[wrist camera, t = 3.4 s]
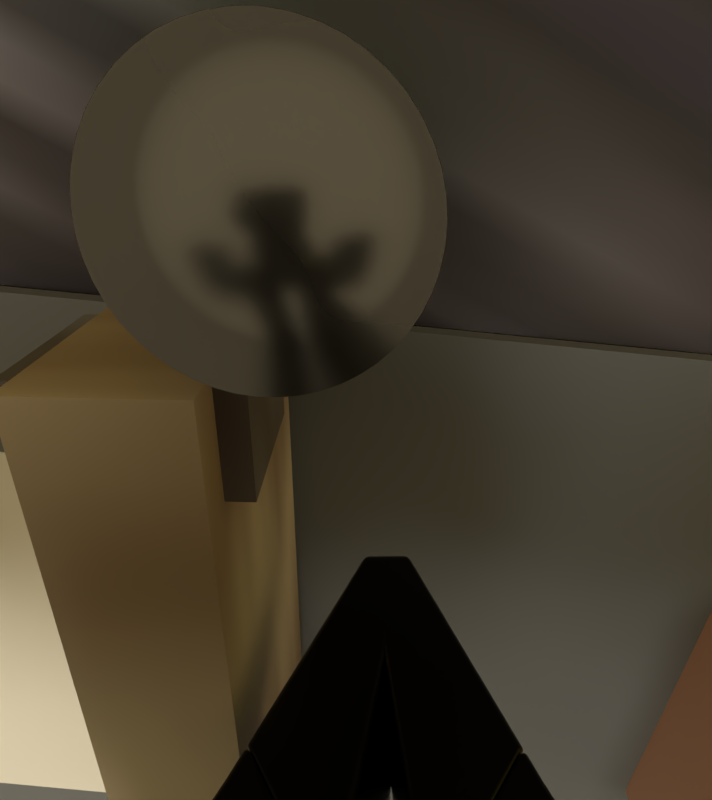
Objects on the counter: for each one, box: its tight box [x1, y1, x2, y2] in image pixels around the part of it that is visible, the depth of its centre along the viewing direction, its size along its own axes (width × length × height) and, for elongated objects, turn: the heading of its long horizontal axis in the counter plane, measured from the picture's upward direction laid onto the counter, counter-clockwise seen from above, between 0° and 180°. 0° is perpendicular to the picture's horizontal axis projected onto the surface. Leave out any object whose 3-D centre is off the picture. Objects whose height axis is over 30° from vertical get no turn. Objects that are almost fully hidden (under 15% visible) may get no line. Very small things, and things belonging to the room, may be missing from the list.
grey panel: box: [0, 286, 712, 800], centre depth 13 cm, size 16×30×1 cm, turn 85°
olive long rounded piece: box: [70, 6, 447, 397], centre depth 10 cm, size 21×2×6 cm, turn 175°
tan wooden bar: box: [0, 308, 301, 800], centre depth 10 cm, size 15×2×4 cm, turn 0°
